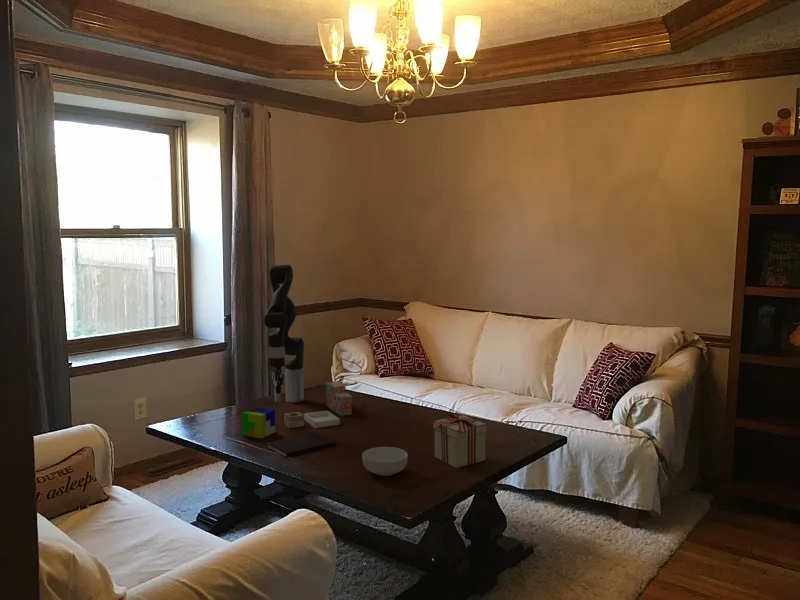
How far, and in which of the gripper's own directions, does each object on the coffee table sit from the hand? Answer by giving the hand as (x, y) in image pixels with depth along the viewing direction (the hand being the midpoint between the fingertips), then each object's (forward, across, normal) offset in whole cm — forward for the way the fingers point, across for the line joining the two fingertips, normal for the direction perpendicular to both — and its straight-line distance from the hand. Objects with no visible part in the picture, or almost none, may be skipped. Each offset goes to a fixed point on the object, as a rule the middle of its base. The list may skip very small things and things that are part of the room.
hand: (277, 392), depth 308 cm
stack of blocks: (+15, -9, +34) cm, 38 cm away
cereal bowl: (+14, +79, +16) cm, 82 cm away
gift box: (+14, +80, +47) cm, 94 cm away
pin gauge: (+4, 0, 0) cm, 4 cm away
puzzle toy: (+14, +12, -12) cm, 23 cm away
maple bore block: (+15, +6, +6) cm, 17 cm away
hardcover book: (+15, +37, -2) cm, 40 cm away
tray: (+14, +7, +19) cm, 25 cm away
